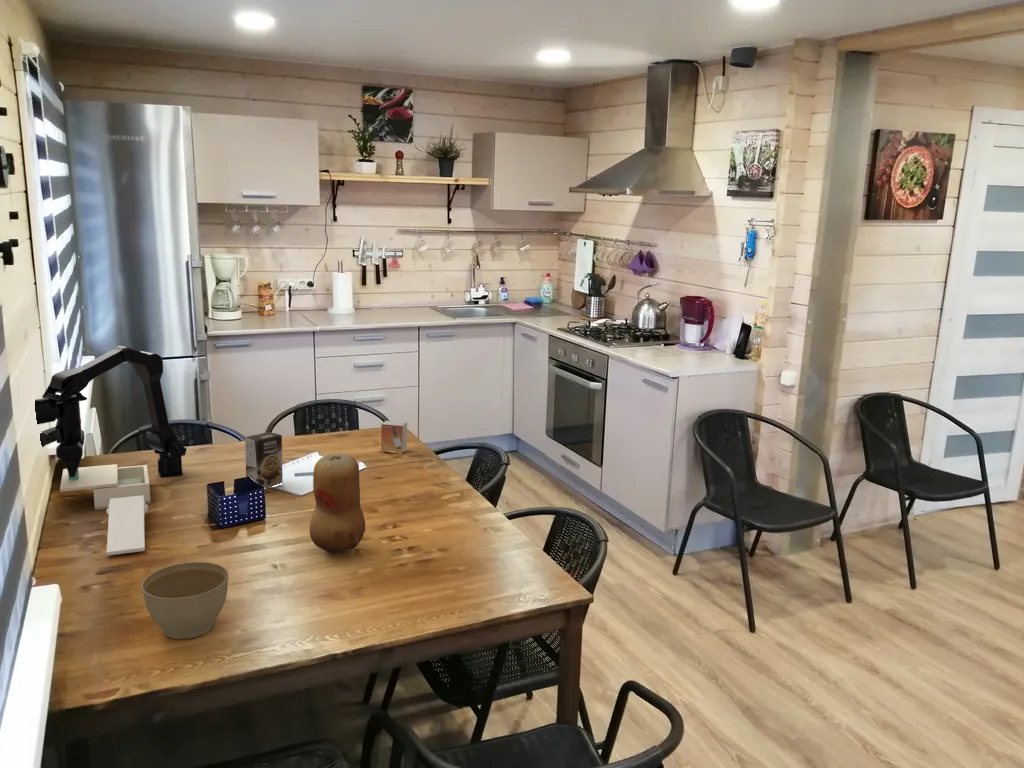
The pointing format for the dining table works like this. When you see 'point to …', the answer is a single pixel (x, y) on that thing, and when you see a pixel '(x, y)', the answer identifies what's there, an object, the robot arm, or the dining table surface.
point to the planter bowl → (186, 597)
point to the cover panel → (90, 478)
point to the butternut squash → (337, 504)
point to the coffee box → (264, 458)
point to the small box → (393, 436)
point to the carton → (124, 486)
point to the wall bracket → (126, 525)
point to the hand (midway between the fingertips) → (73, 472)
